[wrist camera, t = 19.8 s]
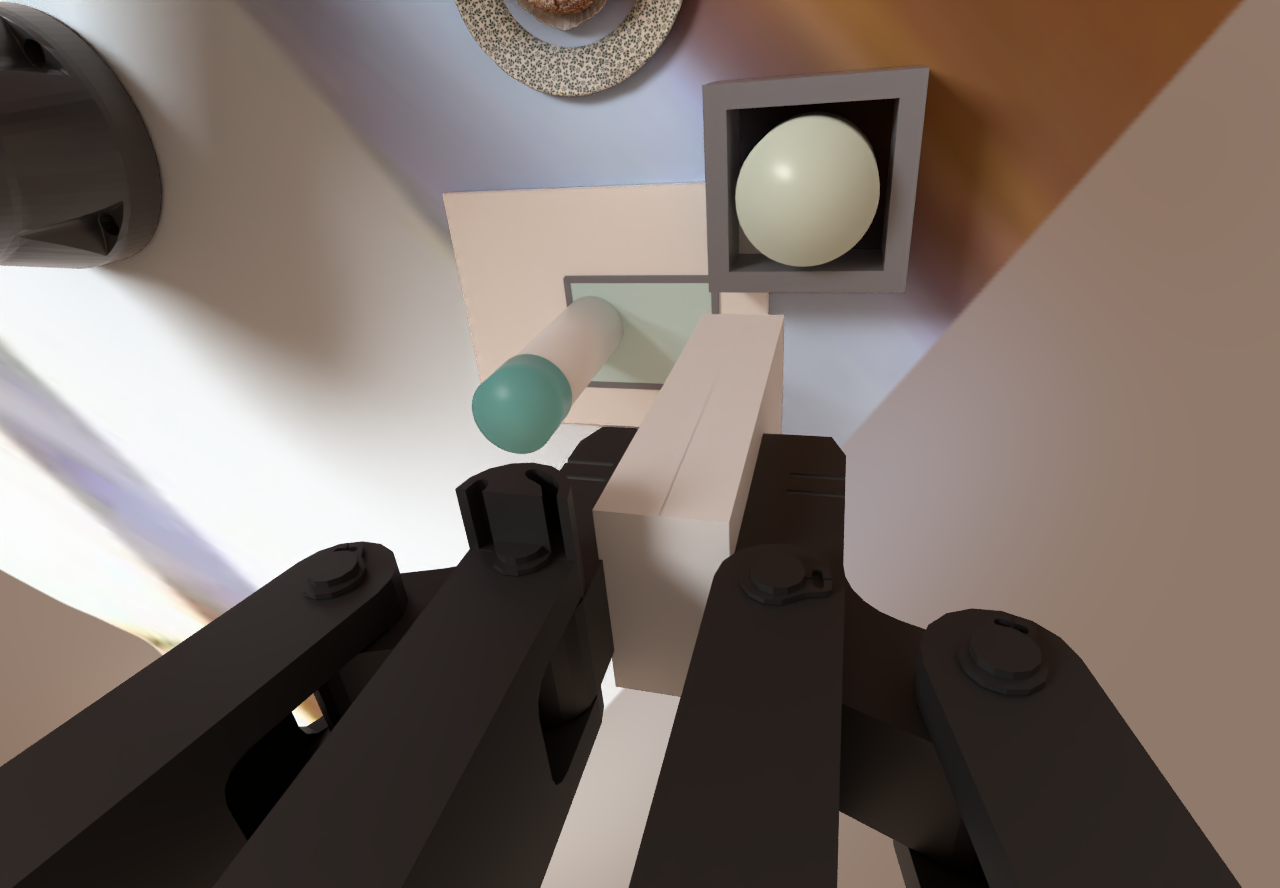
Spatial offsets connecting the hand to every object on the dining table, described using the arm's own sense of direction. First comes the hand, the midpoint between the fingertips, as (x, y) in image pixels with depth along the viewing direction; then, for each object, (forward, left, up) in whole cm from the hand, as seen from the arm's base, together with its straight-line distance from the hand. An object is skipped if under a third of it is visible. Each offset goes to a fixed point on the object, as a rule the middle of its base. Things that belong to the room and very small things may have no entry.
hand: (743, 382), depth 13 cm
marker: (-12, -8, -24) cm, 28 cm away
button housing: (0, 0, -24) cm, 24 cm away
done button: (0, 0, -23) cm, 23 cm away
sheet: (-11, -7, -24) cm, 28 cm away
